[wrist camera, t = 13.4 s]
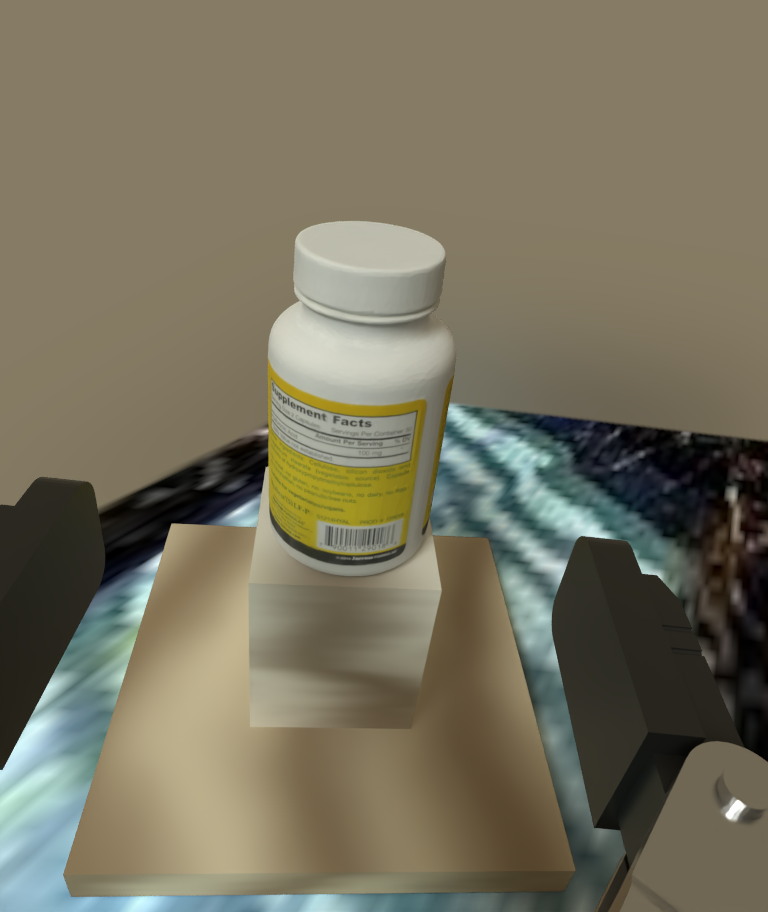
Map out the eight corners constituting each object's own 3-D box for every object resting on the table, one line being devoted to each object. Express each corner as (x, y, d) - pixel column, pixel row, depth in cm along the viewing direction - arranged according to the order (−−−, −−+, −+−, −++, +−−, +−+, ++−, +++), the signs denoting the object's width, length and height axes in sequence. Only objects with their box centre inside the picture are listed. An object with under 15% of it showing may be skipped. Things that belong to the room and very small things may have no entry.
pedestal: (482, 559, 36) (520, 415, 31) (563, 891, 23) (653, 738, 18) (173, 546, 34) (158, 391, 29) (70, 896, 21) (11, 729, 16)
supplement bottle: (344, 460, 26) (366, 202, 21) (455, 528, 24) (516, 254, 18) (233, 522, 23) (224, 230, 17) (351, 611, 20) (386, 300, 14)
